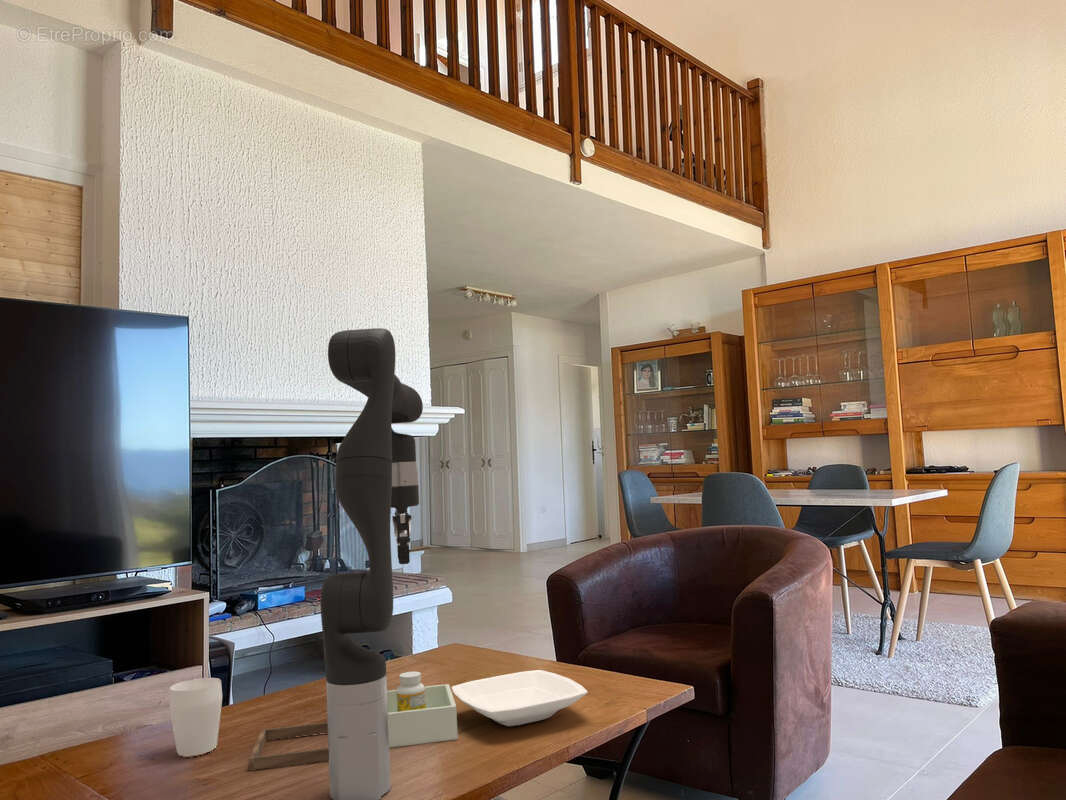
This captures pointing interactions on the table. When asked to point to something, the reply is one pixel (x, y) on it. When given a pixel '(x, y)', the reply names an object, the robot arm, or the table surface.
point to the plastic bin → (423, 718)
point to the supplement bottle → (410, 692)
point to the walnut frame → (289, 757)
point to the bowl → (520, 696)
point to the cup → (196, 715)
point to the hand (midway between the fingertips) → (403, 561)
